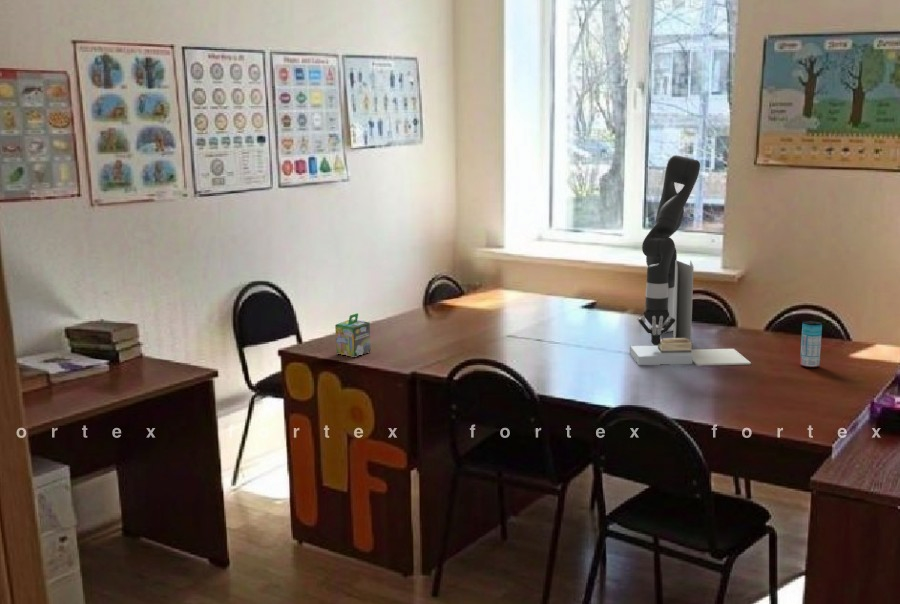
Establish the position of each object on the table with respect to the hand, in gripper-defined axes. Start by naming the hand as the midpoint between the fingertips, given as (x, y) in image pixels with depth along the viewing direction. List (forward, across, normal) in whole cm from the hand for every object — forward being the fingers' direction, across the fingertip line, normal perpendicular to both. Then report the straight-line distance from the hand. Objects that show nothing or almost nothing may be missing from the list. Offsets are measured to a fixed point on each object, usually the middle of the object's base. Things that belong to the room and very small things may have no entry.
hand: (655, 344), depth 302 cm
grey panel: (+5, -14, -18) cm, 23 cm away
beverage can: (+5, -48, +13) cm, 50 cm away
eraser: (+2, -6, 0) cm, 7 cm away
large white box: (+5, -2, 0) cm, 5 cm away
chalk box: (+6, +105, -15) cm, 107 cm away
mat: (+5, -21, 0) cm, 21 cm away
